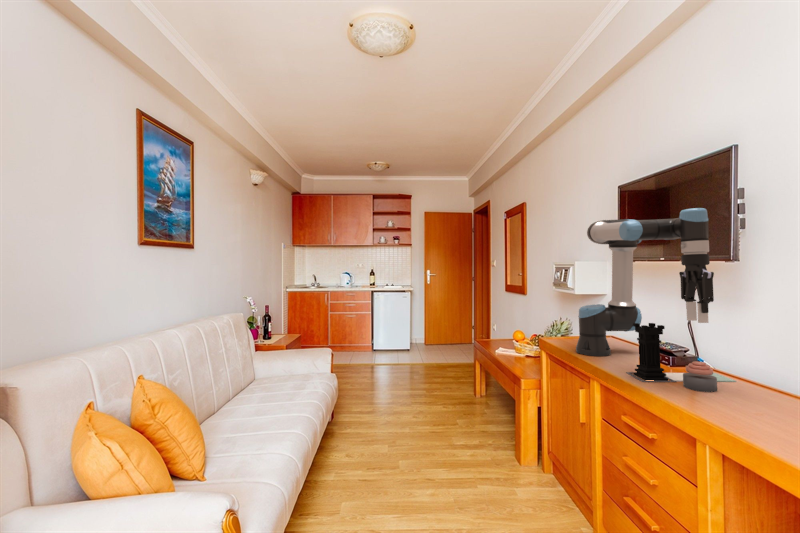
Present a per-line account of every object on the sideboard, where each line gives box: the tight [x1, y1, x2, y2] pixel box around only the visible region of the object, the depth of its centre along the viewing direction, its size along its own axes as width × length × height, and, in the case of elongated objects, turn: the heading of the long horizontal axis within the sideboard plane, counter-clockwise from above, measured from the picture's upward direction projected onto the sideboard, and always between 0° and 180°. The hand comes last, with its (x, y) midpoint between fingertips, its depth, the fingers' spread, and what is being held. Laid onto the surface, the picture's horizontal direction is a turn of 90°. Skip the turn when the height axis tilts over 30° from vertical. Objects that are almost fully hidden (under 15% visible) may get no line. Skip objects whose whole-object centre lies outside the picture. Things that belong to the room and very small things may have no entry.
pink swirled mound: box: [685, 360, 714, 375], centre depth 125 cm, size 7×7×3 cm
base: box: [682, 372, 718, 393], centre depth 125 cm, size 9×9×4 cm
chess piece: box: [632, 322, 669, 381], centre depth 138 cm, size 8×8×20 cm
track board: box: [625, 371, 737, 383], centre depth 137 cm, size 12×32×1 cm, turn 83°
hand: (697, 321), depth 125 cm, fingers open, 5 cm apart
